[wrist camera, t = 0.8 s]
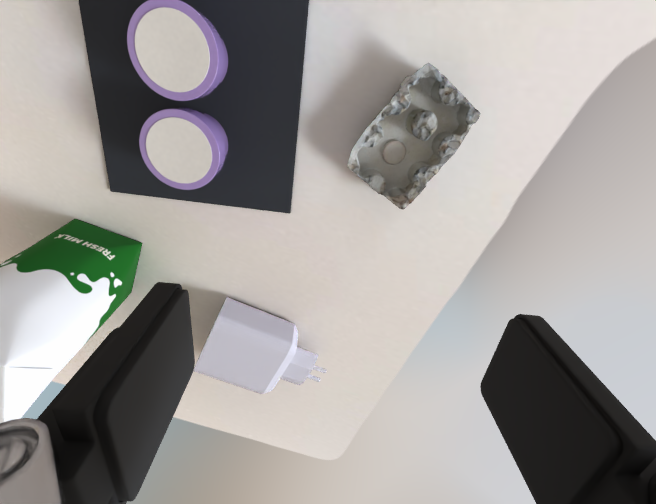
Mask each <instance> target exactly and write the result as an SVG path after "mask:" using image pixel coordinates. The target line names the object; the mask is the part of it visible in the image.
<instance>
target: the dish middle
mask: <svg viewBox="0 0 656 504" xmlns="http://www.w3.org/2000/svg"><path fill="white" fill-rule="evenodd" d="M127 46H128V51H129V55H130V59H131V61H132V64H133V66H134V68H135V70H136V71H137V73H138V74H139V76H140V77H141V79H142V80H143V81H144V82H145V83H146V84H147V85H148V86H149V87H150V88H151V89H152V90H153V91H155V92H156V93H158V94H159V95H161V96H163V97H165V98H168V99H171V100H176V101H189V100H195V99H200V98H203V97H205V96H207V95H208V94H210V93H211V92H212V91H213V90H214V89H215V88H216V87H217V86H218V85H219V84H220V83H221V82H222V81H223V79H224V77H225V75H226V72H227V68H228V54H227V50H226V46H225V44H224V42H223V40H222V38H221V36H220V35H219V33H218V32H217V31H216V29H215V27H214V26H213V24H212V23H211V22H210V21H209V20H208V18H207V17H206V16H205V15H203V14H202V13H201V12H200V11H198V10H197V9H195V8H193V7H192V6H190V5H188V4H186V3H184V2H183V1H180V0H148V1H146V2H144V3H143V4H141V5H140V6H139V7H138V8H137V10H136V11H135V12H134V14H133V16H132V17H131V19H130V22H129V26H128V31H127Z"/></svg>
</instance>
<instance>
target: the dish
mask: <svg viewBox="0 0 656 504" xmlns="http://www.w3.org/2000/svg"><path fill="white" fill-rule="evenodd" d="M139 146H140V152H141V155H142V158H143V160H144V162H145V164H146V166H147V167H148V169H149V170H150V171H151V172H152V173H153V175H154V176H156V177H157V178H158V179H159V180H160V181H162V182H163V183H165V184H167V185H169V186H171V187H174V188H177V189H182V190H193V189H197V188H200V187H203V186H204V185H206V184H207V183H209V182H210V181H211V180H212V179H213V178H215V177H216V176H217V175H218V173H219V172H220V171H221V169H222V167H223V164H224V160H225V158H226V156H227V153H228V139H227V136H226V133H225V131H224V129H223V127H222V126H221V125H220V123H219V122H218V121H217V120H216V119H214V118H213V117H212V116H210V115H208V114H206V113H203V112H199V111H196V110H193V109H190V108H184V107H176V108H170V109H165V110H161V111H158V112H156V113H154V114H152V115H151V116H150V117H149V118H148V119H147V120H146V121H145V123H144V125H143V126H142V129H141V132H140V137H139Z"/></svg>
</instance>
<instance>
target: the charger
mask: <svg viewBox="0 0 656 504" xmlns="http://www.w3.org/2000/svg"><path fill="white" fill-rule="evenodd" d="M297 340H298V331H297V329H296V326H295V324H294V323H291V322H289V321H286V320H284V319H281V318H279V317H276V316H274V315H271V314H269V313H266V312H264V311H261V310H259V309H256V308H253V307H251V306H248V305H246V304H243V303H241V302H238V301H236V300H233V299H231V298H228V297H227V298H226V300H225V302H224V304H223V306H222V308H221V310H220V312H219V314H218V316H217V318H216V320H215V323H214V325H213V327H212V329H211V331H210V333H209V336H208V338H207V340H206V342H205V344H204V347H203V349H202V351H201V354H200V356H199V358H198V361H197V363H196V365H195V367H194V370H193V371H195V372H198V373H201V374H204V375H207V376H210V377H213V378H215V379H218V380H221V381H224V382H227V383H230V384H233V385H236V386H239V387H242V388H245V389H248V390H251V391H254V392H257V393H260V394H264V393H267V392H269V391H272V390H273V389H274V387H275V386H276V384H277V382H278V381H279V379H283V380H286V381H289V382H291V383H294V384H297V385H300V384H302V383H304V381H305V380H306V378H309V379H312V380H315V381H318V382H319V381H320V378H318V377H315V376H312V375H310V372H311V371H312V369H314V370H317V371H320V372H323V373H326V369H323V368H321V367H318V366H315V365H314V364H315V362H316V360H317V357H318V355H317V354H315V353H312V352H310V351H307V350H304V349H302V348H299V347H297Z"/></svg>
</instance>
